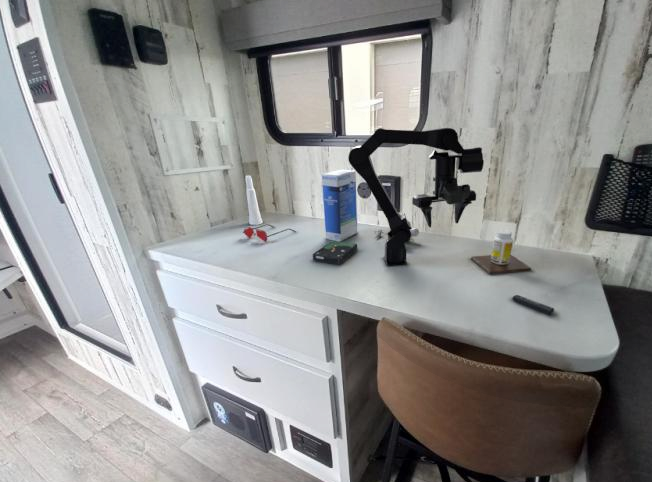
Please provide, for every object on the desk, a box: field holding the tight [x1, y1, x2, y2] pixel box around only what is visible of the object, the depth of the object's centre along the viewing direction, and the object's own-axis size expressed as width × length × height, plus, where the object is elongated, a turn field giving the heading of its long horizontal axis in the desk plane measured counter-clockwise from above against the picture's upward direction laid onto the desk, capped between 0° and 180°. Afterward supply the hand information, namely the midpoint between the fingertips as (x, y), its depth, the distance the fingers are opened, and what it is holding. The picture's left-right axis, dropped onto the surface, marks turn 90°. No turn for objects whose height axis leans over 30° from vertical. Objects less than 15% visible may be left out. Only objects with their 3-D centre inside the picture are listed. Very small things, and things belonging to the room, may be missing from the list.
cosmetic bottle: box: [244, 174, 264, 226], centre depth 142 cm, size 6×6×22 cm
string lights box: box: [321, 169, 358, 242], centre depth 123 cm, size 13×8×26 cm, turn 150°
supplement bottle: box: [490, 229, 514, 265], centre depth 98 cm, size 6×6×10 cm
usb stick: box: [512, 294, 555, 316], centre depth 76 cm, size 10×3×2 cm, turn 41°
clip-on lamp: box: [374, 227, 420, 244], centre depth 121 cm, size 12×6×18 cm
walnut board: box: [470, 254, 532, 275], centre depth 100 cm, size 14×12×1 cm
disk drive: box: [312, 240, 358, 265], centre depth 108 cm, size 10×3×15 cm
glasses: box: [242, 223, 297, 243], centre depth 129 cm, size 14×16×5 cm
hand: (443, 225), depth 97 cm, fingers open, 9 cm apart
